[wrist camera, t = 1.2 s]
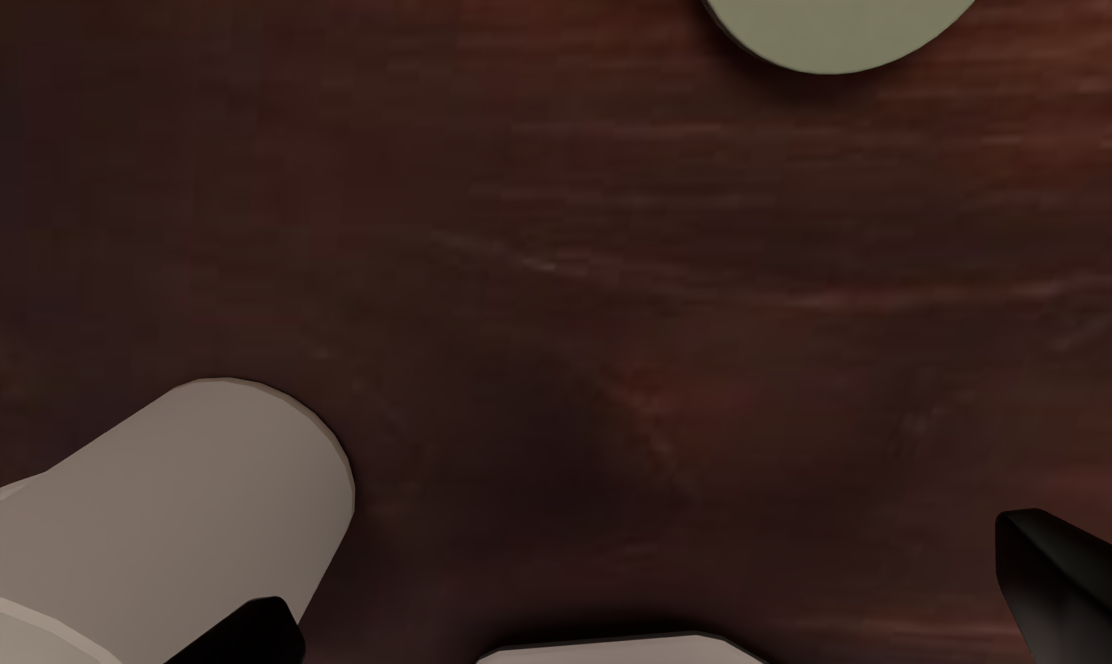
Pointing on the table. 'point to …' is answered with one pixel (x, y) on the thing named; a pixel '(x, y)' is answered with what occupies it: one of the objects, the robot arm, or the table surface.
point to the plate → (628, 651)
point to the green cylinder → (833, 30)
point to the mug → (171, 526)
